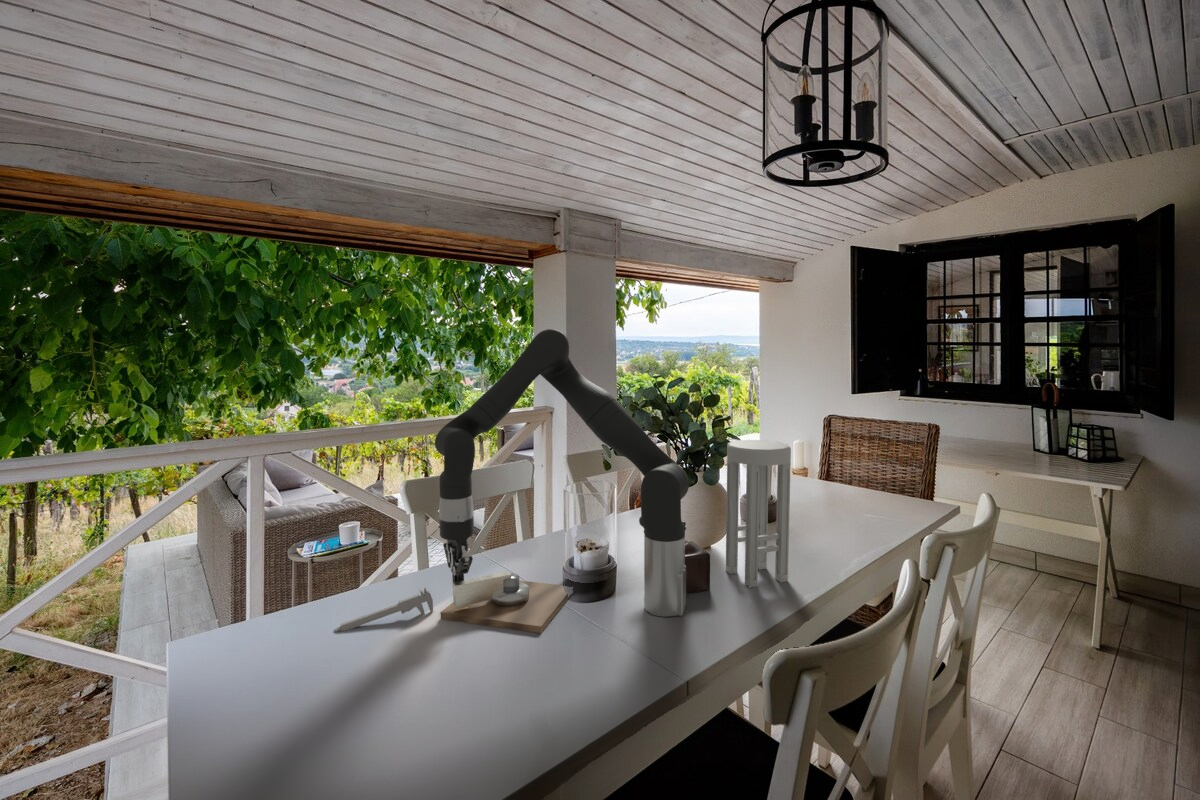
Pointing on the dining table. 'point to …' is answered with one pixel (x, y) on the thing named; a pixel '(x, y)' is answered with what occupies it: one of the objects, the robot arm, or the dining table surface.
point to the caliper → (391, 610)
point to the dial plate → (514, 610)
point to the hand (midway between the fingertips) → (458, 589)
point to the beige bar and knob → (491, 590)
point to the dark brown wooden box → (695, 567)
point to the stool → (758, 507)
